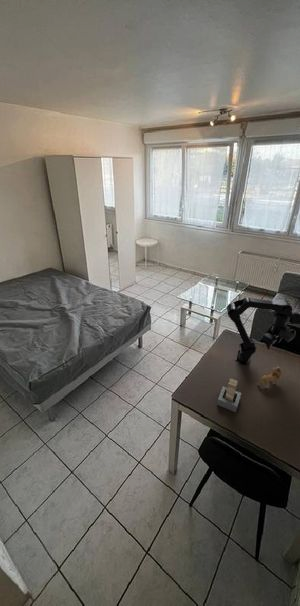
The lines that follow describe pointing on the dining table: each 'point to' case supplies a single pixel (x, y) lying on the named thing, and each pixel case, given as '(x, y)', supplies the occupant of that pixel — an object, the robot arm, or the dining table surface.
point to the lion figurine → (271, 377)
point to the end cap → (226, 403)
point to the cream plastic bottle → (231, 390)
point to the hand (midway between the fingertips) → (273, 345)
